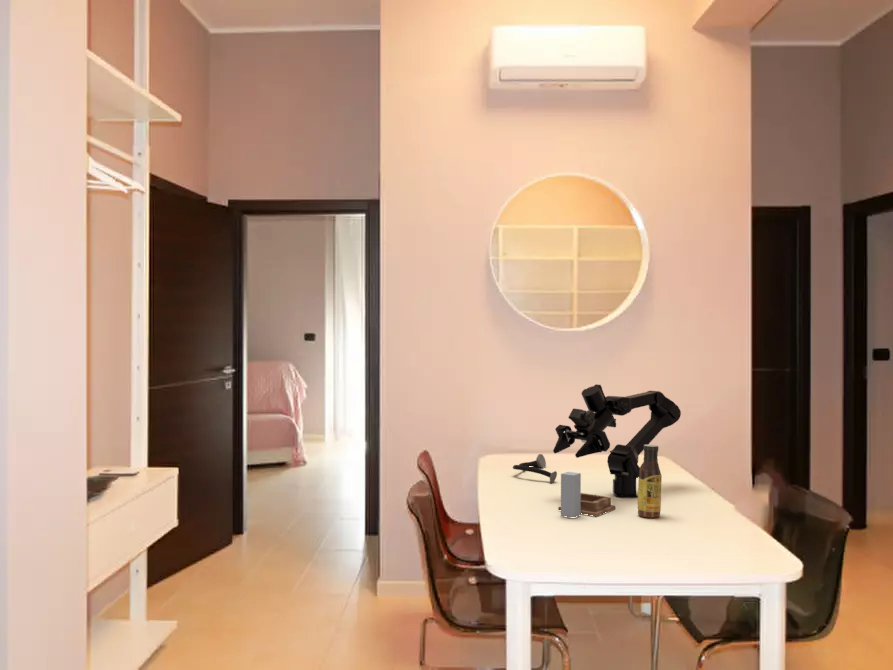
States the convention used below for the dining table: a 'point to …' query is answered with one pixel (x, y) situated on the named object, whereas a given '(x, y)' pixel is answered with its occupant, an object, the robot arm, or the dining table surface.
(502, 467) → the dining table surface
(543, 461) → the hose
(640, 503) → the sauce bottle
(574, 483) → the grey square post
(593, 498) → the post socket
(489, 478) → the dining table surface
